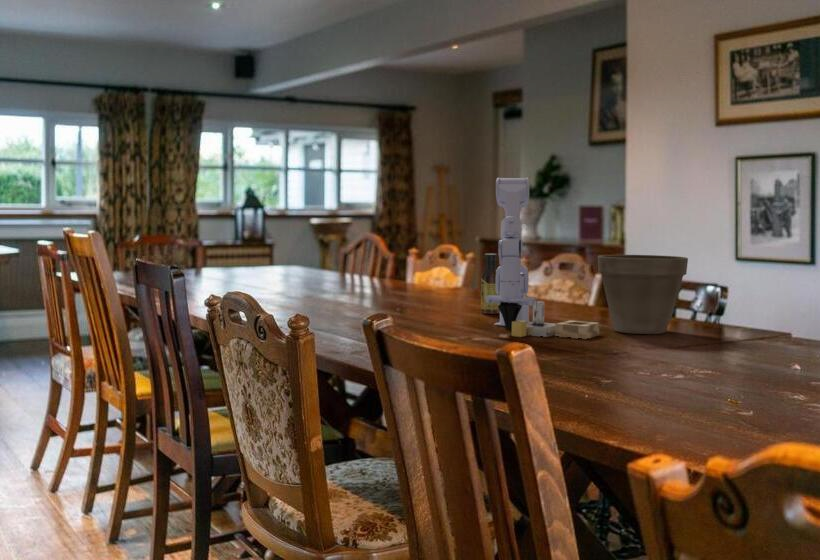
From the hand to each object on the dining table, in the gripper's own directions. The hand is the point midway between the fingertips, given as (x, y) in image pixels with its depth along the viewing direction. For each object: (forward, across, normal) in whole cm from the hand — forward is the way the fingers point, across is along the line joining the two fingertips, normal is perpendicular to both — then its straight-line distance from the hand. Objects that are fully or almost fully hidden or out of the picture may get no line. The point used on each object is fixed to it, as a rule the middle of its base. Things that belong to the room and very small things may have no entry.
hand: (509, 329), depth 265 cm
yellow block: (+1, +3, 0) cm, 3 cm away
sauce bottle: (+2, -30, +41) cm, 51 cm away
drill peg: (+1, +5, +7) cm, 9 cm away
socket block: (+1, +5, +7) cm, 9 cm away
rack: (+1, +16, +9) cm, 19 cm away
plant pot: (+2, +27, +28) cm, 39 cm away
